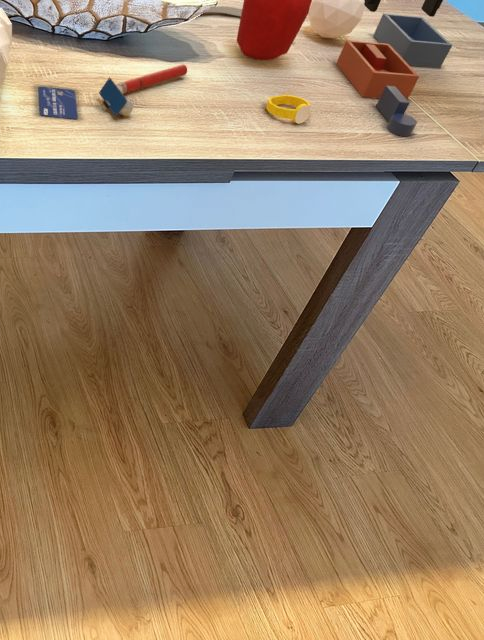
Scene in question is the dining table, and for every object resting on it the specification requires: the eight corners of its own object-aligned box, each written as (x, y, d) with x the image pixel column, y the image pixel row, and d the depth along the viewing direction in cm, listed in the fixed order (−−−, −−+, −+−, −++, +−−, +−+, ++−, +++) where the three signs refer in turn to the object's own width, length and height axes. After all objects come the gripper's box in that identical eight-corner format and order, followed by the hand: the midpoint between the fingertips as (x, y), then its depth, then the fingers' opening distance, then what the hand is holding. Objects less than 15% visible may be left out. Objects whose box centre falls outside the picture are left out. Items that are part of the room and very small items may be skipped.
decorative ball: (278, 37, 137) (312, -31, 132) (328, 58, 139) (363, -8, 133) (293, 42, 129) (330, -30, 124) (346, 65, 131) (384, -6, 125)
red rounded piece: (252, 72, 120) (283, -15, 110) (215, 44, 126) (241, -41, 116) (301, 66, 124) (335, -19, 114) (263, 39, 130) (292, -44, 120)
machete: (164, 19, 128) (154, -2, 130) (159, 29, 130) (149, 8, 131) (282, 20, 137) (271, 0, 139) (275, 29, 139) (264, 10, 141)
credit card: (77, 119, 103) (77, 119, 103) (39, 115, 102) (39, 115, 102) (74, 90, 108) (74, 90, 108) (38, 86, 108) (38, 86, 108)
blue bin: (440, 68, 130) (452, 45, 127) (399, 64, 129) (411, 41, 126) (411, 39, 138) (422, 16, 135) (372, 35, 137) (383, 13, 134)
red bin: (407, 100, 119) (419, 76, 116) (362, 97, 118) (373, 72, 115) (377, 67, 127) (389, 43, 124) (335, 63, 126) (346, 39, 123)
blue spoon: (415, 137, 110) (427, 115, 108) (392, 135, 110) (404, 113, 107) (390, 107, 116) (401, 86, 114) (369, 106, 116) (379, 85, 113)
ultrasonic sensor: (122, 125, 105) (137, 105, 103) (110, 120, 104) (125, 99, 102) (105, 101, 108) (119, 81, 106) (93, 96, 107) (107, 76, 105)
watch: (292, 87, 112) (321, 101, 108) (287, 105, 114) (316, 120, 110) (262, 94, 110) (291, 108, 106) (257, 112, 112) (286, 127, 108)
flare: (115, 98, 108) (107, 93, 109) (186, 77, 115) (178, 72, 116) (117, 87, 107) (109, 82, 108) (188, 67, 114) (181, 62, 115)
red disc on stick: (391, 90, 120) (401, 69, 117) (370, 88, 119) (380, 67, 117) (370, 65, 126) (380, 45, 123) (350, 63, 125) (359, 43, 123)
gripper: (408, -113, 100) (355, 16, 112) (525, -101, 102) (461, 24, 114) (385, -128, 106) (337, -3, 118) (497, -116, 108) (438, 6, 120)
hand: (398, 10), depth 116 cm, fingers open, 9 cm apart
